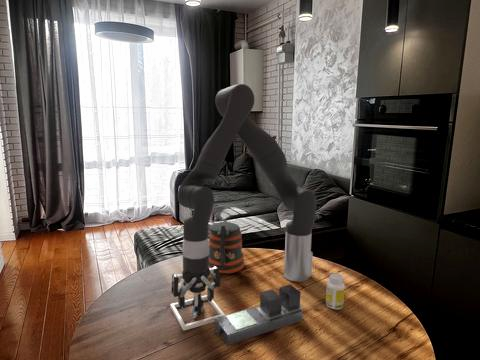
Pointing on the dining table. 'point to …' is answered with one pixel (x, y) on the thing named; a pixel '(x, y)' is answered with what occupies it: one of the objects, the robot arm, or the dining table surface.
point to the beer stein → (225, 247)
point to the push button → (197, 299)
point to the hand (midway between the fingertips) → (196, 303)
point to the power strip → (262, 315)
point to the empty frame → (200, 322)
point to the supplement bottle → (335, 292)
